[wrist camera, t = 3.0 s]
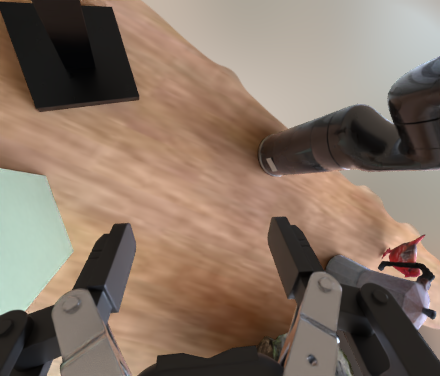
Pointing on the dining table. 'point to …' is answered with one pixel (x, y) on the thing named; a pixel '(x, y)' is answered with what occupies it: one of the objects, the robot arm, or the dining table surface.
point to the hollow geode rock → (275, 347)
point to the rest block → (28, 238)
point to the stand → (69, 53)
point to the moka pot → (389, 284)
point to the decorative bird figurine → (405, 257)
